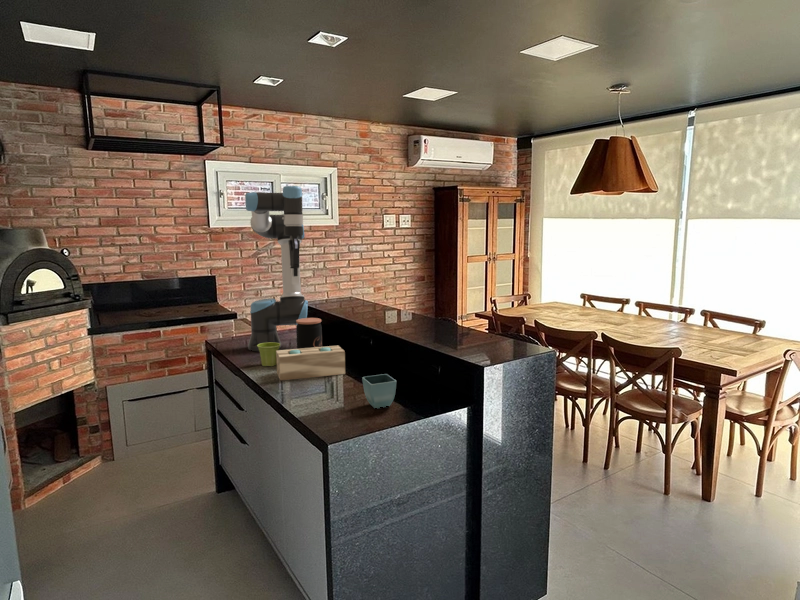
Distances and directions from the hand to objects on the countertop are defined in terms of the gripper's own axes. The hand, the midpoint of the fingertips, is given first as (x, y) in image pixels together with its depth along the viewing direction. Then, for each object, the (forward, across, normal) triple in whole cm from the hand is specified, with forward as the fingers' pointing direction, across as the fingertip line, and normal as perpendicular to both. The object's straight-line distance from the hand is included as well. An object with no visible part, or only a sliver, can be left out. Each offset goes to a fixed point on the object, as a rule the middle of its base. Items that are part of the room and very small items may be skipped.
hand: (295, 284), depth 208 cm
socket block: (+34, +13, +3) cm, 37 cm away
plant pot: (+35, -6, -11) cm, 37 cm away
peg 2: (+34, +13, +9) cm, 37 cm away
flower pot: (+34, +58, +17) cm, 69 cm away
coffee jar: (+35, -6, +6) cm, 36 cm away
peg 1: (+34, +13, -3) cm, 36 cm away
